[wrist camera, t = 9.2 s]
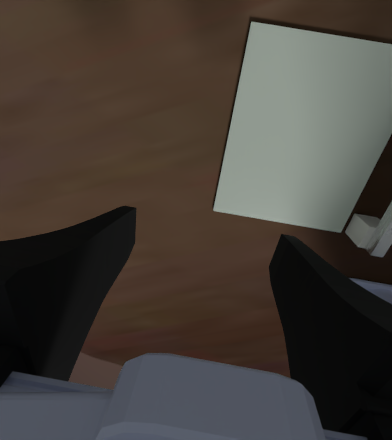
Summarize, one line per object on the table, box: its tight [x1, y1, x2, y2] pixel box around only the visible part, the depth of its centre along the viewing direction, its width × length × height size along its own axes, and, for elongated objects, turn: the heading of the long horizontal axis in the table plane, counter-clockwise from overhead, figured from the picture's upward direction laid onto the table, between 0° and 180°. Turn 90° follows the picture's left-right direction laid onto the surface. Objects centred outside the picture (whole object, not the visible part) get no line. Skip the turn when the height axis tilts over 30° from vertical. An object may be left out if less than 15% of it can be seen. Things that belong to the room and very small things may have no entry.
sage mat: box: [213, 22, 392, 233], centre depth 19 cm, size 14×12×1 cm
